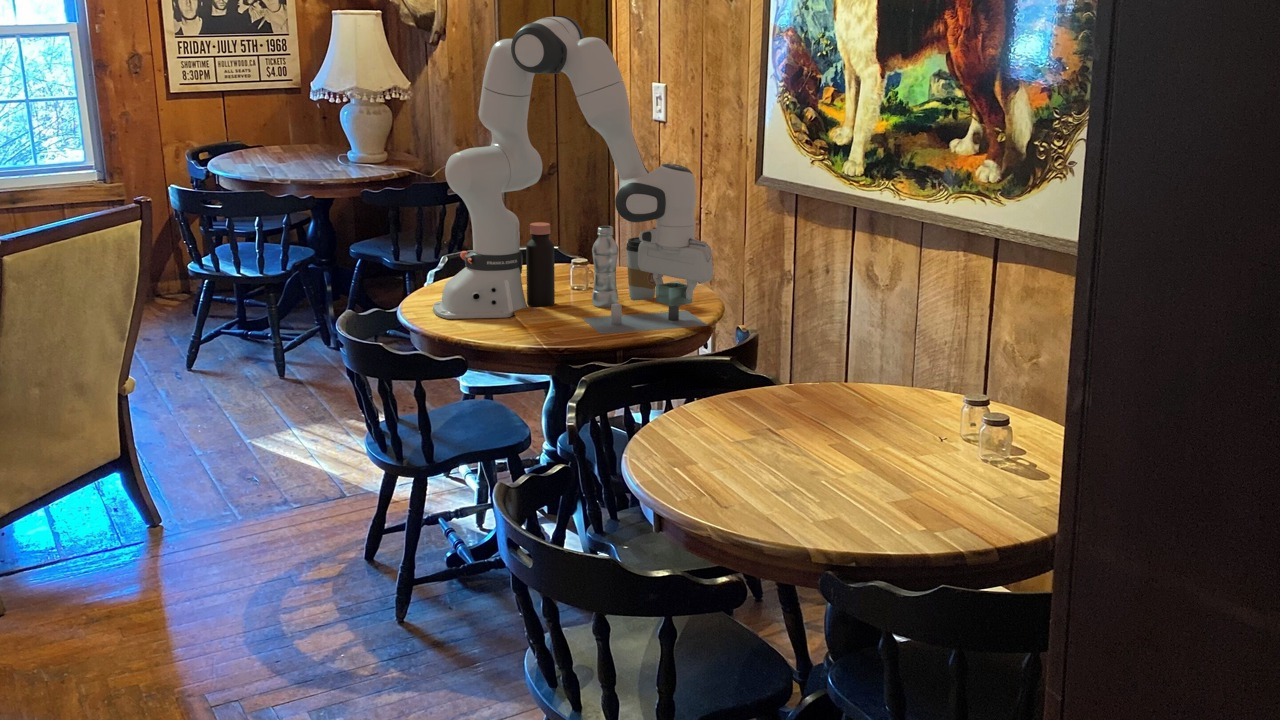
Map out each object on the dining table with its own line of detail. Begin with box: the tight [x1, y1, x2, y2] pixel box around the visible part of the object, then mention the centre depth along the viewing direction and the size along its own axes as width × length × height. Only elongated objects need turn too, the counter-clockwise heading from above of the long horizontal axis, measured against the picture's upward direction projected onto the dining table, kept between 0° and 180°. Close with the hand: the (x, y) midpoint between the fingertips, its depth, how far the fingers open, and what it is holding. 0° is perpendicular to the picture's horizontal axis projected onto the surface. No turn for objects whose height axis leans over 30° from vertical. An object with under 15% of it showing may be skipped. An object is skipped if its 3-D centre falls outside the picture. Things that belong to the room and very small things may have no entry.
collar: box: [655, 281, 693, 307], centre depth 272 cm, size 6×6×4 cm
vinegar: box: [525, 221, 556, 308], centre depth 287 cm, size 7×7×20 cm
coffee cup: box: [625, 236, 656, 301], centre depth 295 cm, size 8×8×15 cm
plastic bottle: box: [591, 225, 619, 309], centre depth 284 cm, size 6×7×20 cm
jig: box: [582, 303, 710, 335], centre depth 271 cm, size 26×14×6 cm, turn 109°
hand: (674, 295), depth 272 cm, fingers closed on collar, 7 cm apart
